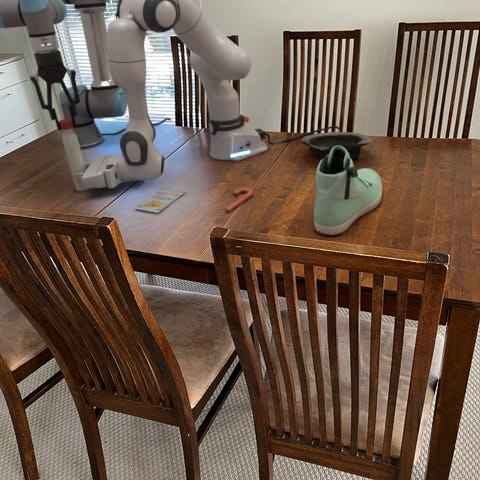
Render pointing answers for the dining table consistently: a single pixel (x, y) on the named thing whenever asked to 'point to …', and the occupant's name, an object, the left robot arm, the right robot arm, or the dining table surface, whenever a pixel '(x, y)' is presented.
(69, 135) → the bottle
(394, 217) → the dining table surface
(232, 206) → the candy cane
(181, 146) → the dining table surface
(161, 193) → the baking ingredient package
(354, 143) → the stone bowl
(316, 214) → the sneaker
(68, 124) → the cap
